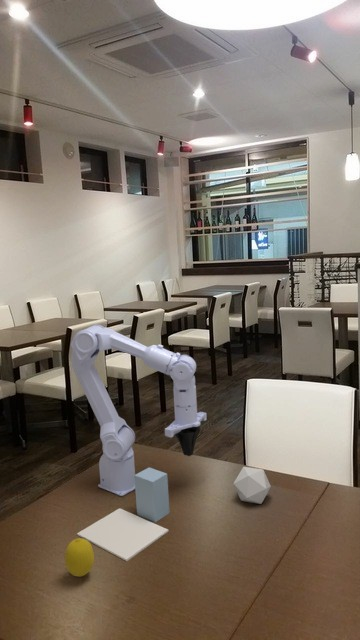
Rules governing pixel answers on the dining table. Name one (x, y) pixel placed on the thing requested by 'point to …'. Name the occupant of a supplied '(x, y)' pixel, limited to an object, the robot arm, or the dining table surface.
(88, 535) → the mat
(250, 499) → the die
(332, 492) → the dining table surface
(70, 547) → the lemon
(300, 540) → the dining table surface
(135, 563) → the dining table surface
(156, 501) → the block
